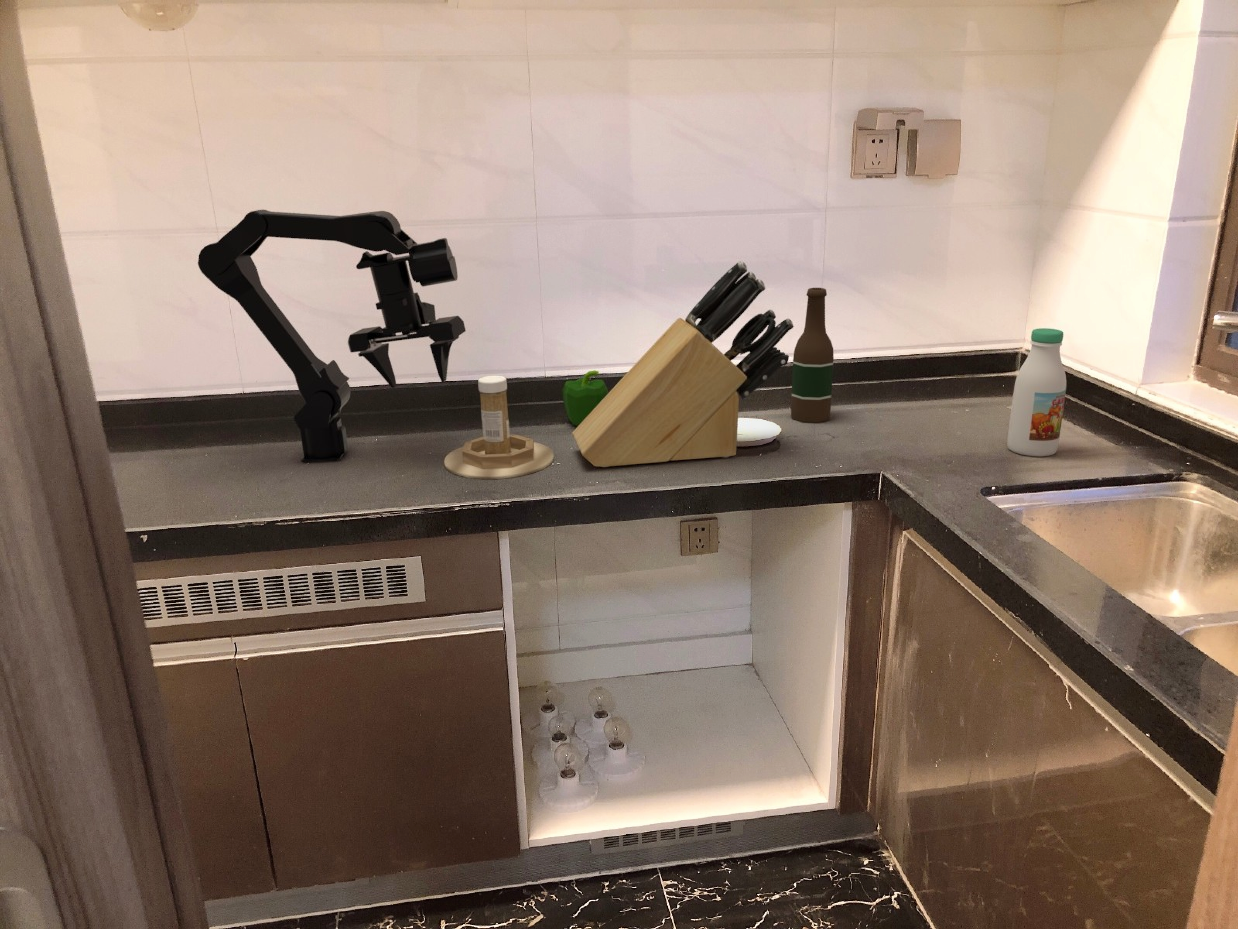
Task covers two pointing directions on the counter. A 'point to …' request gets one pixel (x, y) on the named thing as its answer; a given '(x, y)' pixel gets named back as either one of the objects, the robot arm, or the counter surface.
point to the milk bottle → (1038, 397)
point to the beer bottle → (813, 365)
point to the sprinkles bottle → (494, 414)
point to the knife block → (688, 384)
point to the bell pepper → (583, 397)
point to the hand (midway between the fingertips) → (419, 384)
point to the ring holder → (499, 459)
